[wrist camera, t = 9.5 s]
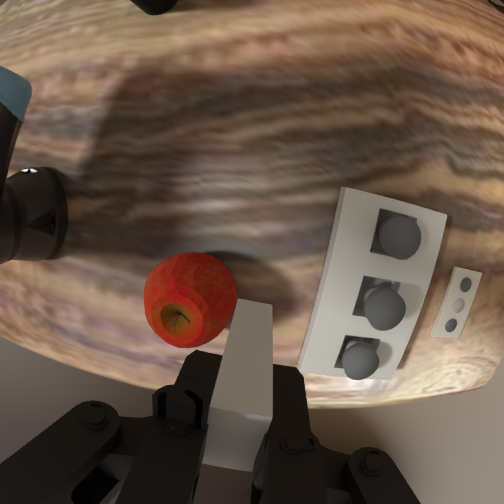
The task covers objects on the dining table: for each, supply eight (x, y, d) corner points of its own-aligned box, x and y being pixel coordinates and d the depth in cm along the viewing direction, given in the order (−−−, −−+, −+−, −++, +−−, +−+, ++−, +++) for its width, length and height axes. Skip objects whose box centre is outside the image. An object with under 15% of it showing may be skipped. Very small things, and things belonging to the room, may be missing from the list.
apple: (147, 270, 38) (107, 300, 27) (211, 229, 36) (185, 248, 25) (191, 334, 39) (166, 379, 29) (257, 300, 37) (249, 343, 27)
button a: (367, 245, 33) (380, 255, 29) (375, 208, 32) (390, 213, 28) (399, 252, 33) (415, 262, 28) (407, 217, 32) (425, 222, 27)
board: (298, 359, 39) (299, 372, 36) (340, 186, 33) (345, 187, 30) (385, 368, 38) (391, 379, 35) (436, 212, 32) (447, 214, 29)
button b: (353, 310, 34) (363, 328, 29) (363, 276, 33) (375, 290, 28) (385, 315, 34) (397, 332, 29) (395, 281, 33) (411, 296, 28)
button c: (333, 358, 37) (339, 378, 33) (343, 329, 36) (351, 348, 32) (363, 360, 37) (371, 380, 32) (374, 333, 36) (384, 351, 31)
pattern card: (429, 334, 36) (432, 337, 35) (453, 265, 34) (457, 267, 33) (456, 336, 36) (459, 339, 35) (480, 272, 33) (483, 273, 32)
